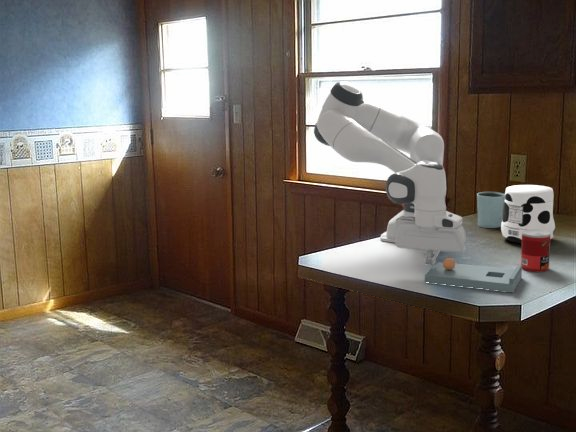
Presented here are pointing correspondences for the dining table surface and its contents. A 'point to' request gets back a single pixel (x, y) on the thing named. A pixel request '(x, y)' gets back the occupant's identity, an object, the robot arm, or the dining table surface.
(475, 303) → the dining table surface
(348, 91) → the robot arm
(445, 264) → the ball
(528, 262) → the canned food
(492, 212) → the pale blue cup
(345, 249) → the dining table surface
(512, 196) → the milk container
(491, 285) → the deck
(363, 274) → the dining table surface
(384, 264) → the dining table surface
